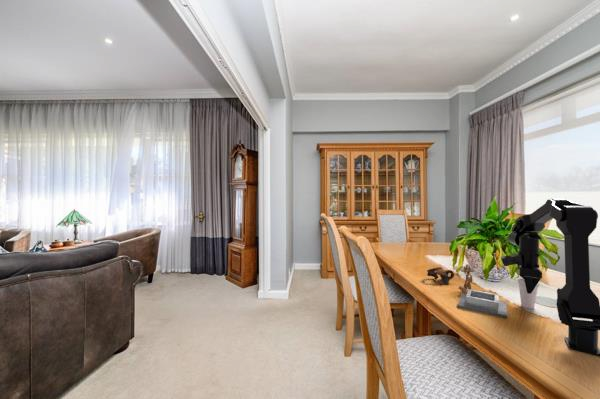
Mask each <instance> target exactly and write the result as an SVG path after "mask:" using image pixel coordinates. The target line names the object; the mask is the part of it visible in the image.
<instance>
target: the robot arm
mask: <svg viewBox="0 0 600 399" xmlns="http://www.w3.org/2000/svg"><path fill="white" fill-rule="evenodd" d="M598 218H599V214H598V211H597V210H596V209H594V208H593V206H589V205H585V204H581V203H578V202H574V201H571V200H570V199H566V198H549V199H547V200H546V201H545V203H544V204H542V205H541V206H540V207H538V208H537V209H536V210H534V211H533V212H532V213H529V214H524V215H521V216H519V217H517V219H516V220H515V222H514V224H513V226H512V227H511V232H510V233H509V234H508V236H507V240H508V242H509V243H511V244H512V245H513V246H514V245H515V246H517V247H518V250H517V253H515V254H507V255H503V256H501V257H500V260H501V262H502V265H503V267H509V266H513V265H514V266H515V265H516V267H517V269H518V275H519V277H520V278H521V279H524V281H525V285H526V290H527V293H529V294H531V293H532V291H533V290H534V288H535V287H536V285H537V284H538V283H540V281H541V280H542V278H543V271H542V270H541V269H540V263H539V261H540V260H539V258H540V253H539V252H540V240H542V237H541V235H539V233H540V232H542V231H543V230H544V229H545V228H546V225H545V224H546V223H548V222H549V221H551V220H553V219H554V220H555V223H556V224H555V226H556V227H557V228H558V230H559V231H560V232H561V234H562V235H563V239H564V244H563V245H564V270H565V271H564V273H565V278H564V279H565V284H564V286H563V287H558V288H557V289H556V295H557V296H556V308H557V313H558V314H557V316H558V318H559V321H560V322H561V323H560V324H563V325H565V326H568V332H567V333H568V335H567V336H568V337H566V336H565V337H564V341H565V344H566V345H567V348H568V349H570V350H575V351H579V352H583V353H587V354H590V355H595V356H599V357H600V348H599V331H600V299H599V298H598V296H597V294H595V292H594V291H593V290H592V289H591V275H590V274H591V273H590V269H591V268H590V248H589V246H590V244H589V236H591V234H592V233H594V231H596V228H597V224H598ZM583 319H584V320H583Z"/></svg>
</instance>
